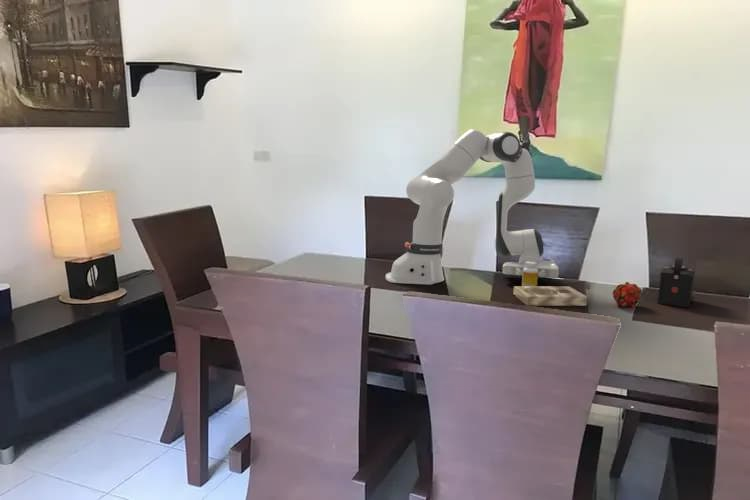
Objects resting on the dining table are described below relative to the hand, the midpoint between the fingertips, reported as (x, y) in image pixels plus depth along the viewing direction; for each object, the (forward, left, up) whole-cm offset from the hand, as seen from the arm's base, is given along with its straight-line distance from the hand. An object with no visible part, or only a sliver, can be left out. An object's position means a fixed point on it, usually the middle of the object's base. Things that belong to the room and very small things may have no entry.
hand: (530, 274), depth 205 cm
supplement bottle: (0, +1, -6) cm, 6 cm away
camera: (+45, -17, -6) cm, 49 cm away
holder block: (+1, -15, -6) cm, 16 cm away
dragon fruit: (+24, -23, -6) cm, 34 cm away
